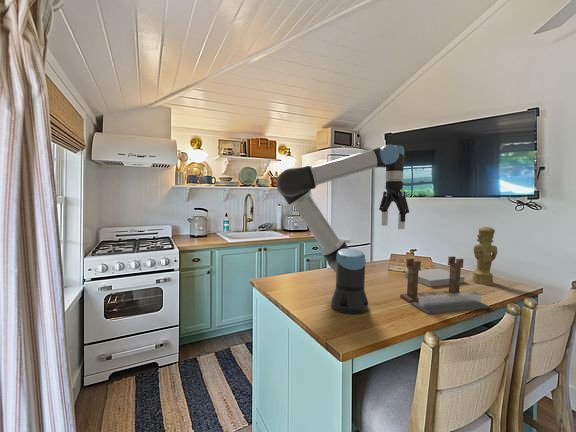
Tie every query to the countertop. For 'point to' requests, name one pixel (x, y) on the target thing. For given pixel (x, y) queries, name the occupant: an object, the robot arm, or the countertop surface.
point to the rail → (449, 299)
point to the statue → (484, 256)
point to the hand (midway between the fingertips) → (392, 227)
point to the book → (434, 277)
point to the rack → (453, 288)
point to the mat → (450, 308)
